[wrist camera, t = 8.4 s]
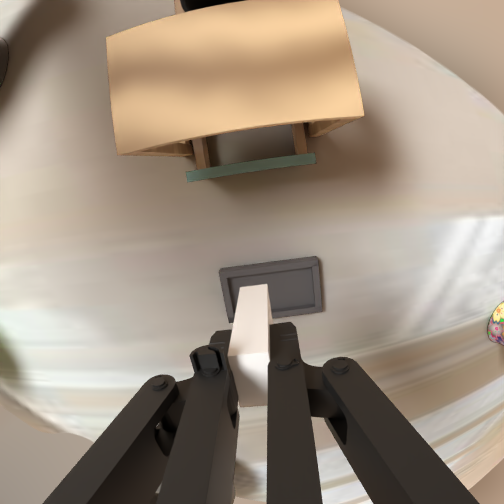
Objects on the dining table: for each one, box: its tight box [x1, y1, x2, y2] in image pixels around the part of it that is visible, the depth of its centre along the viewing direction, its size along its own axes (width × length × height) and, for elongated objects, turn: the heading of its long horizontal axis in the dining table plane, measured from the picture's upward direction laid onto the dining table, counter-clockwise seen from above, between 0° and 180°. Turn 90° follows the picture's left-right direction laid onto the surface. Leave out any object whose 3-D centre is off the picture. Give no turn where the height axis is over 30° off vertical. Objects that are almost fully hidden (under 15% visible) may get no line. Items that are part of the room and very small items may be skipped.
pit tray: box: [219, 256, 322, 323], centre depth 40 cm, size 7×12×2 cm, turn 99°
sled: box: [174, 0, 316, 182], centre depth 29 cm, size 24×12×8 cm, turn 9°
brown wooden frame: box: [106, 0, 364, 157], centre depth 26 cm, size 9×16×18 cm, turn 99°
